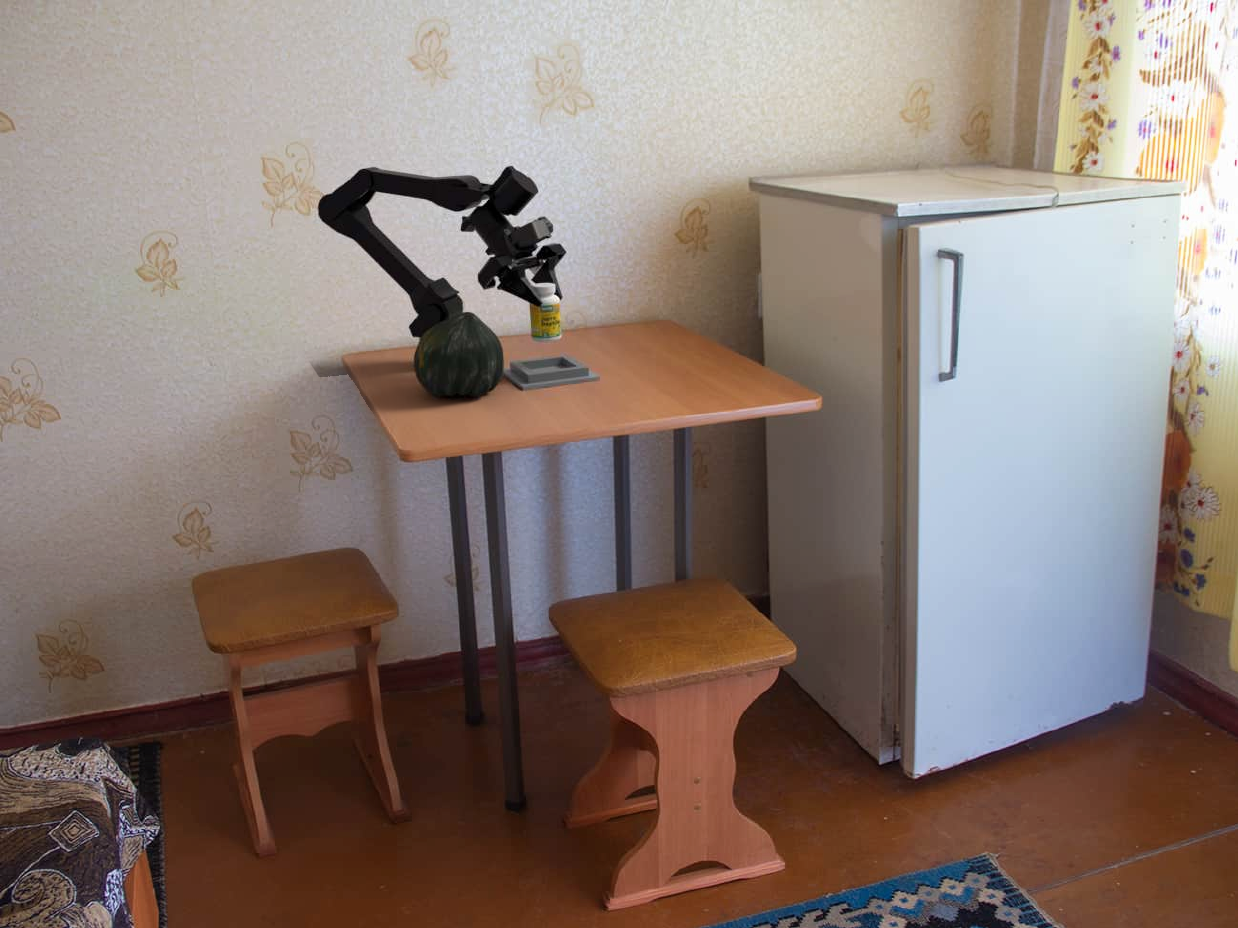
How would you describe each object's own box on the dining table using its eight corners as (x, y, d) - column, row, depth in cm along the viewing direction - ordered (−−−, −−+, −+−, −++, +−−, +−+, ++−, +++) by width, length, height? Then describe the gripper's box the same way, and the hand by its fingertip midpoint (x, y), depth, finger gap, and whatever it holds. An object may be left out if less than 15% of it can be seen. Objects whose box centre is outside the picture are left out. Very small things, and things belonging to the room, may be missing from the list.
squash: (404, 355, 202) (413, 300, 190) (487, 348, 207) (501, 295, 195) (420, 423, 195) (431, 371, 183) (506, 414, 201) (521, 363, 188)
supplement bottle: (552, 334, 208) (549, 280, 205) (567, 339, 204) (565, 284, 201) (525, 338, 205) (522, 284, 202) (541, 343, 201) (538, 288, 198)
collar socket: (500, 372, 210) (499, 361, 210) (573, 362, 215) (572, 351, 214) (523, 390, 198) (522, 378, 197) (600, 379, 203) (599, 368, 202)
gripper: (485, 209, 192) (541, 281, 189) (555, 197, 206) (607, 264, 204) (454, 253, 199) (507, 323, 196) (523, 239, 213) (573, 304, 211)
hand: (550, 302), depth 201 cm, fingers closed on supplement bottle, 5 cm apart
